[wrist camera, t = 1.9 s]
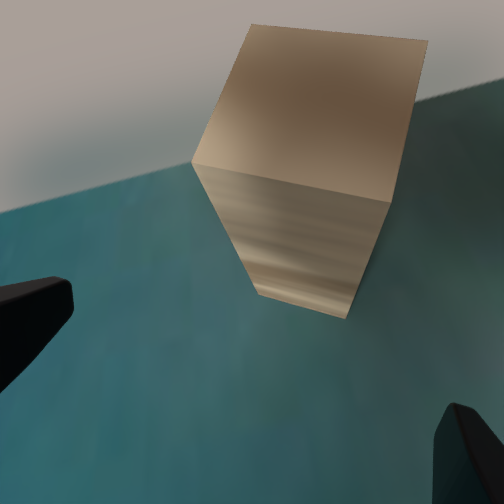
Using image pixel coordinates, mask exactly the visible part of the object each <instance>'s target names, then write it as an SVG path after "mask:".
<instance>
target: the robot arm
mask: <svg viewBox="0 0 504 504" xmlns="http://www.w3.org/2000/svg"><path fill="white" fill-rule="evenodd" d="M73 311H74V301H73V293H72V285H71V283H70V281H68V280H66V279H63V278H60V277H56V276H52V277H47V278H42V279H36V280H31V281H26V282H21V283H16V284H11V285H5V286H0V393H1V392H2V391H3V390H4V389H5V388H6V387H7V386H8V385H9V384H10V383H11V382H12V381H13V380H14V379H15V378H17V377H18V376H19V375H20V374H21V373H22V372H23V371H24V370H25V369H26V368H27V367H28V366H29V365H30V364H31V362H32V361H33V360H34V359H35V358H36V357H37V356H38V355H39V353H40V352H41V351H42V350H43V349H44V348H45V346H46V345H47V344H48V343H49V342H50V341H51V339H52V338H53V337H54V336H55V335H56V334H57V332H58V331H59V330H60V329H61V328H62V327H63V325H64V324H65V323H66V322H67V321H68V319H69V318H70V317H71V316H72V314H73ZM432 504H504V445H503V444H502V442H501V441H500V440H499V439H498V437H497V436H496V435H495V434H494V433H493V431H492V430H491V429H490V428H489V426H488V425H487V424H486V423H485V421H484V420H483V419H482V418H481V416H480V415H479V414H478V413H477V412H476V411H475V410H474V409H472V408H470V407H467V406H464V405H461V404H457V403H450V404H449V405H448V407H447V408H446V410H445V413H444V415H443V417H442V419H441V421H440V423H439V425H438V427H437V429H436V432H435V436H434V448H433V492H432Z"/></svg>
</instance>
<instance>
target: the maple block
mask: <svg viewBox="0 0 504 504" xmlns="http://www.w3.org/2000/svg"><path fill="white" fill-rule="evenodd" d="M427 44H428V41H425V40H414V39H403V38H393V37H383V36H372V35H362V34H351V33H341V32H329V31H320V30H309V29H298V28H288V27H277V26H267V25H256V24H251V26H250V29H249V31H248V33H247V36H246V38H245V40H244V43H243V45H242V47H241V49H240V52H239V54H238V56H237V59H236V61H235V63H234V65H233V68H232V70H231V72H230V75H229V77H228V79H227V81H226V84H225V86H224V88H223V91H222V93H221V95H220V97H219V100H218V102H217V104H216V107H215V109H214V111H213V114H212V116H211V118H210V120H209V123H208V125H207V127H206V130H205V132H204V134H203V136H202V139H201V141H200V143H199V146H198V148H197V150H196V152H195V155H194V157H193V159H192V162H191V163H192V165H193V167H194V169H195V171H196V173H197V175H198V177H199V179H200V181H201V183H202V185H203V187H204V189H205V191H206V193H207V195H208V197H209V199H210V201H211V202H212V204H213V206H214V208H215V210H216V212H217V214H218V216H219V218H220V220H221V222H222V224H223V226H224V228H225V230H226V232H227V234H228V236H229V238H230V240H231V242H232V243H233V245H234V247H235V249H236V251H237V253H238V255H239V257H240V259H241V261H242V263H243V265H244V267H245V269H246V271H247V273H248V275H249V277H250V279H251V281H252V283H253V284H254V286H255V288H256V290H257V292H258V294H259V295H262V296H266V297H269V298H273V299H276V300H280V301H283V302H287V303H290V304H294V305H298V306H301V307H305V308H308V309H312V310H315V311H319V312H322V313H326V314H329V315H333V316H336V317H340V318H343V319H346V317H347V314H348V312H349V309H350V306H351V304H352V301H353V299H354V296H355V294H356V291H357V289H358V286H359V284H360V281H361V278H362V276H363V273H364V271H365V268H366V266H367V263H368V261H369V258H370V256H371V253H372V250H373V248H374V245H375V243H376V240H377V238H378V235H379V233H380V230H381V227H382V225H383V222H384V220H385V217H386V215H387V212H388V210H389V207H390V205H391V202H392V197H393V193H394V188H395V184H396V180H397V175H398V171H399V167H400V162H401V158H402V154H403V149H404V145H405V140H406V136H407V132H408V127H409V123H410V119H411V114H412V110H413V106H414V101H415V96H416V92H417V88H418V83H419V79H420V75H421V71H422V66H423V62H424V58H425V53H426V49H427Z"/></svg>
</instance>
